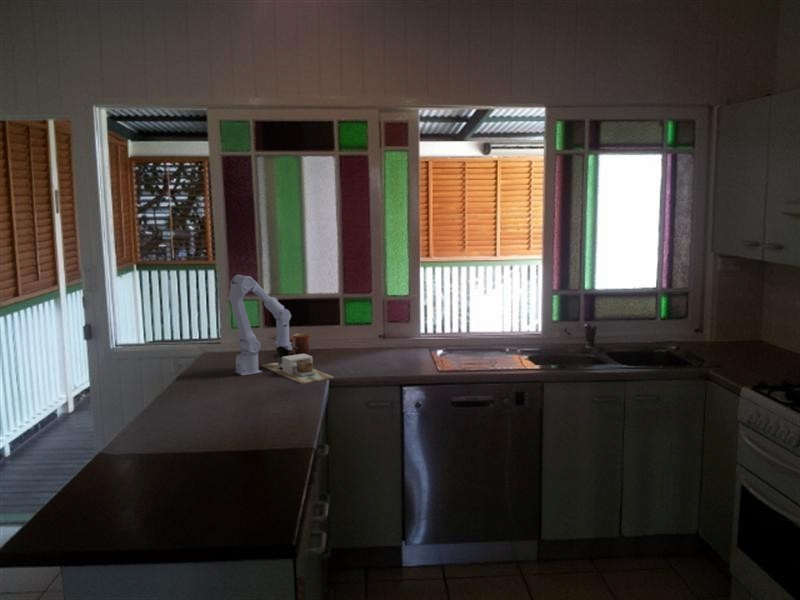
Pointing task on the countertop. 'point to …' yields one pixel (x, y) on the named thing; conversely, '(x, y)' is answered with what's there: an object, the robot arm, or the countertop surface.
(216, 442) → the countertop surface
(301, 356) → the tunnel
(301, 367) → the walnut block
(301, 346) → the mug
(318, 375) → the beige flat rectangular board
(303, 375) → the sled
